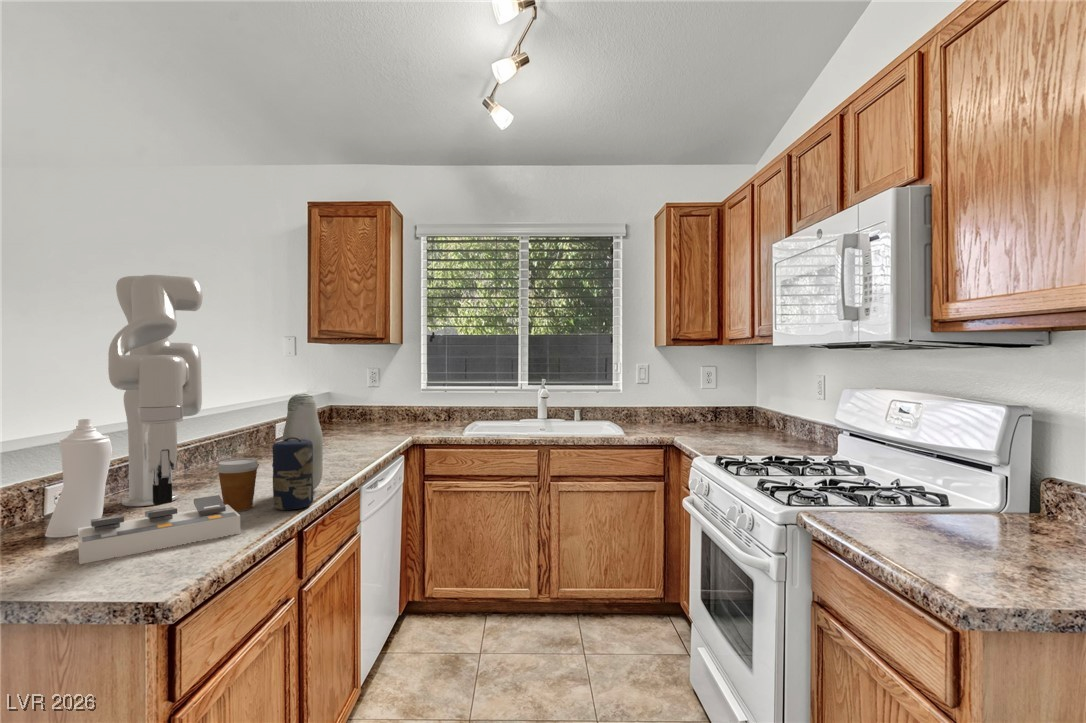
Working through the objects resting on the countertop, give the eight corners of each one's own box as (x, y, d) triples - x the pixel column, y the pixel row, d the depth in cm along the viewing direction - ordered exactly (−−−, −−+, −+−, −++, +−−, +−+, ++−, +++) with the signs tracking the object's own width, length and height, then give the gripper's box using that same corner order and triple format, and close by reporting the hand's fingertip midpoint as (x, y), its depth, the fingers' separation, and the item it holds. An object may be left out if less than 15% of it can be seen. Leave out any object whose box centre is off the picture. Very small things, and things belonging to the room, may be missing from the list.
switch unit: (78, 547, 113) (77, 524, 113) (228, 521, 131) (227, 501, 131) (79, 564, 104) (78, 539, 104) (240, 533, 122) (240, 512, 122)
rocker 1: (90, 524, 114) (90, 519, 114) (121, 519, 117) (121, 514, 117) (91, 527, 108) (91, 521, 108) (124, 521, 112) (123, 516, 112)
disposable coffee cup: (207, 511, 139) (207, 463, 139) (241, 502, 148) (240, 457, 148) (235, 515, 136) (234, 466, 136) (267, 505, 145) (267, 459, 145)
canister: (287, 514, 137) (286, 441, 136) (265, 509, 142) (264, 438, 141) (321, 505, 145) (320, 436, 144) (299, 500, 150) (298, 433, 150)
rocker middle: (144, 516, 119) (144, 510, 120) (172, 511, 123) (172, 506, 123) (148, 518, 114) (148, 512, 114) (177, 513, 117) (177, 508, 118)
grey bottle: (296, 487, 164) (295, 392, 164) (329, 488, 163) (328, 392, 162) (276, 496, 154) (275, 395, 154) (310, 497, 153) (309, 395, 153)
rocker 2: (193, 502, 125) (193, 498, 125) (219, 499, 129) (219, 494, 129) (199, 515, 120) (199, 510, 120) (225, 511, 123) (225, 506, 123)
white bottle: (109, 520, 132) (108, 415, 132) (116, 530, 124) (114, 418, 124) (43, 531, 124) (42, 419, 124) (46, 542, 116) (45, 423, 116)
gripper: (135, 413, 119) (136, 499, 120) (143, 419, 108) (144, 513, 108) (177, 411, 124) (178, 493, 124) (188, 416, 113) (189, 506, 113)
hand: (162, 502), depth 116 cm, fingers closed
